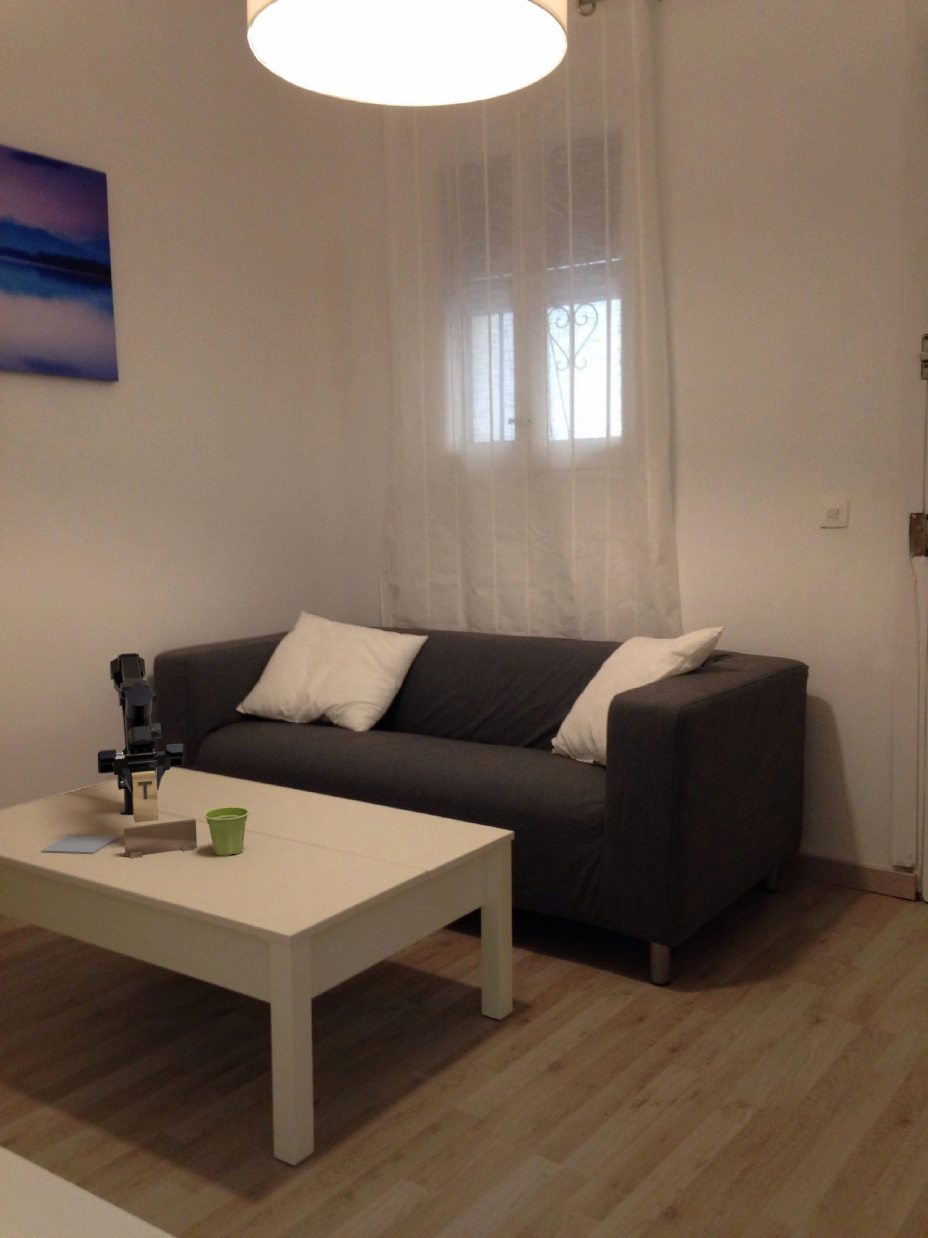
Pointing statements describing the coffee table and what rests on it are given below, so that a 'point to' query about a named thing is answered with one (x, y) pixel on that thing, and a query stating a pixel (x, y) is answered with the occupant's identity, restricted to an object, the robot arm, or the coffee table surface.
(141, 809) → the letter block
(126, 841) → the walnut screen
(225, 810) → the plant pot
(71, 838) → the felt mat
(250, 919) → the coffee table surface
